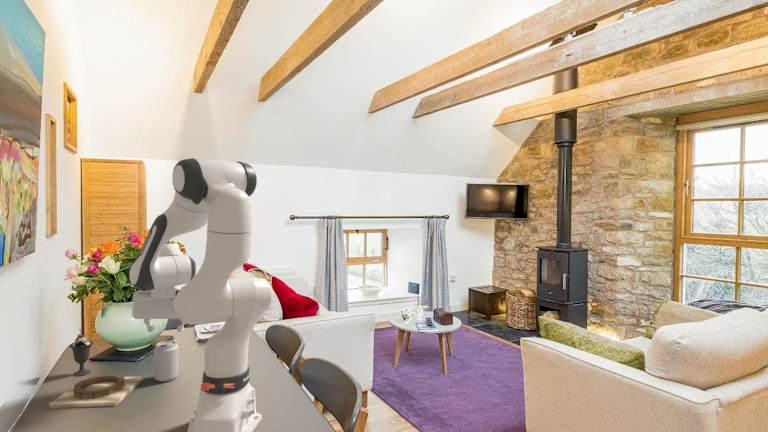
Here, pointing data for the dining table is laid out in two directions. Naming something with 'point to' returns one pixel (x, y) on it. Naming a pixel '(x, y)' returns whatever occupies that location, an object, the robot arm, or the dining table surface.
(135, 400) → the dining table surface
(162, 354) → the can
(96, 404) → the ring board
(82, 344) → the sundae
